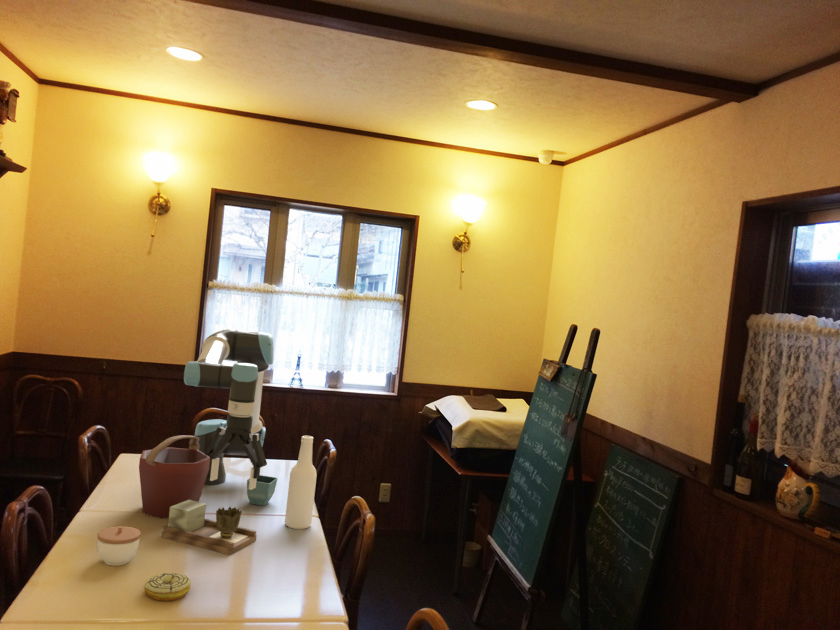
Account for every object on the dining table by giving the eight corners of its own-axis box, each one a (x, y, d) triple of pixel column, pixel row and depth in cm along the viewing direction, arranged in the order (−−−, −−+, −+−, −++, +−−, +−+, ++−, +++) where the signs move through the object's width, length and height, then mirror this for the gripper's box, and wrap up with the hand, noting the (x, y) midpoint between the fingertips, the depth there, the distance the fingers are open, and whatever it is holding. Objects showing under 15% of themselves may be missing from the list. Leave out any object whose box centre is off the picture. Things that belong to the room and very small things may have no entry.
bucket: (181, 495, 242) (188, 427, 241) (221, 512, 229) (229, 439, 229) (118, 508, 221) (126, 433, 221) (158, 527, 209) (166, 448, 208)
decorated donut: (163, 581, 173) (164, 566, 173) (198, 590, 170) (199, 576, 170) (134, 596, 164) (136, 580, 164) (171, 607, 160) (173, 591, 160)
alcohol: (314, 528, 223) (324, 439, 223) (289, 530, 219) (299, 439, 218) (305, 519, 231) (314, 433, 230) (280, 521, 226) (290, 433, 226)
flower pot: (275, 501, 247) (278, 477, 247) (267, 508, 238) (270, 483, 238) (252, 498, 248) (255, 474, 248) (243, 505, 239) (246, 480, 239)
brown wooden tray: (161, 536, 202) (164, 509, 202) (191, 523, 215) (193, 497, 215) (229, 554, 194) (233, 525, 194) (256, 540, 208) (259, 513, 207)
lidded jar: (90, 556, 183) (94, 522, 182) (132, 551, 189) (135, 518, 189) (99, 572, 174) (103, 536, 174) (142, 565, 181) (146, 531, 180)
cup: (215, 541, 198) (218, 515, 198) (211, 533, 205) (214, 507, 205) (241, 540, 202) (244, 514, 201) (236, 531, 208) (238, 506, 208)
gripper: (197, 409, 202) (190, 478, 203) (270, 423, 195) (262, 495, 195) (212, 406, 209) (205, 473, 210) (283, 419, 202) (275, 489, 202)
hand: (232, 484), depth 203 cm, fingers open, 13 cm apart
